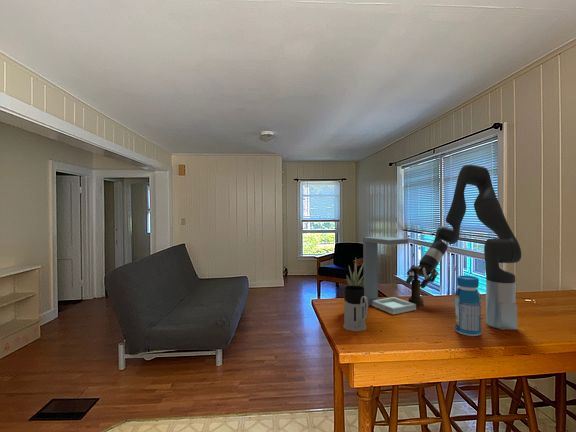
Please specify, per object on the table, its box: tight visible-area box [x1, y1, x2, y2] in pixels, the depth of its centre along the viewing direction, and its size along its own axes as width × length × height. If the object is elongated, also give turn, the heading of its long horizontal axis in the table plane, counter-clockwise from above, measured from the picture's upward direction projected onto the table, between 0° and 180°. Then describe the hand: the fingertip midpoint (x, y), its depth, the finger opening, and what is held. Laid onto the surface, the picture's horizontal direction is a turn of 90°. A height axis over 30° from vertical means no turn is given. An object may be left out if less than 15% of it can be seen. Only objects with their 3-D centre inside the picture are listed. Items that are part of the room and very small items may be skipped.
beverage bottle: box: [454, 275, 483, 337], centre depth 112 cm, size 8×8×20 cm
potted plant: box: [343, 258, 367, 303], centre depth 134 cm, size 10×10×25 cm
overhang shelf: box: [362, 235, 417, 315], centre depth 142 cm, size 16×17×32 cm
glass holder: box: [342, 285, 369, 332], centre depth 116 cm, size 9×14×15 cm, turn 15°
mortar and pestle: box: [408, 265, 425, 306], centre depth 147 cm, size 7×6×18 cm
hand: (414, 285), depth 146 cm, fingers open, 8 cm apart
